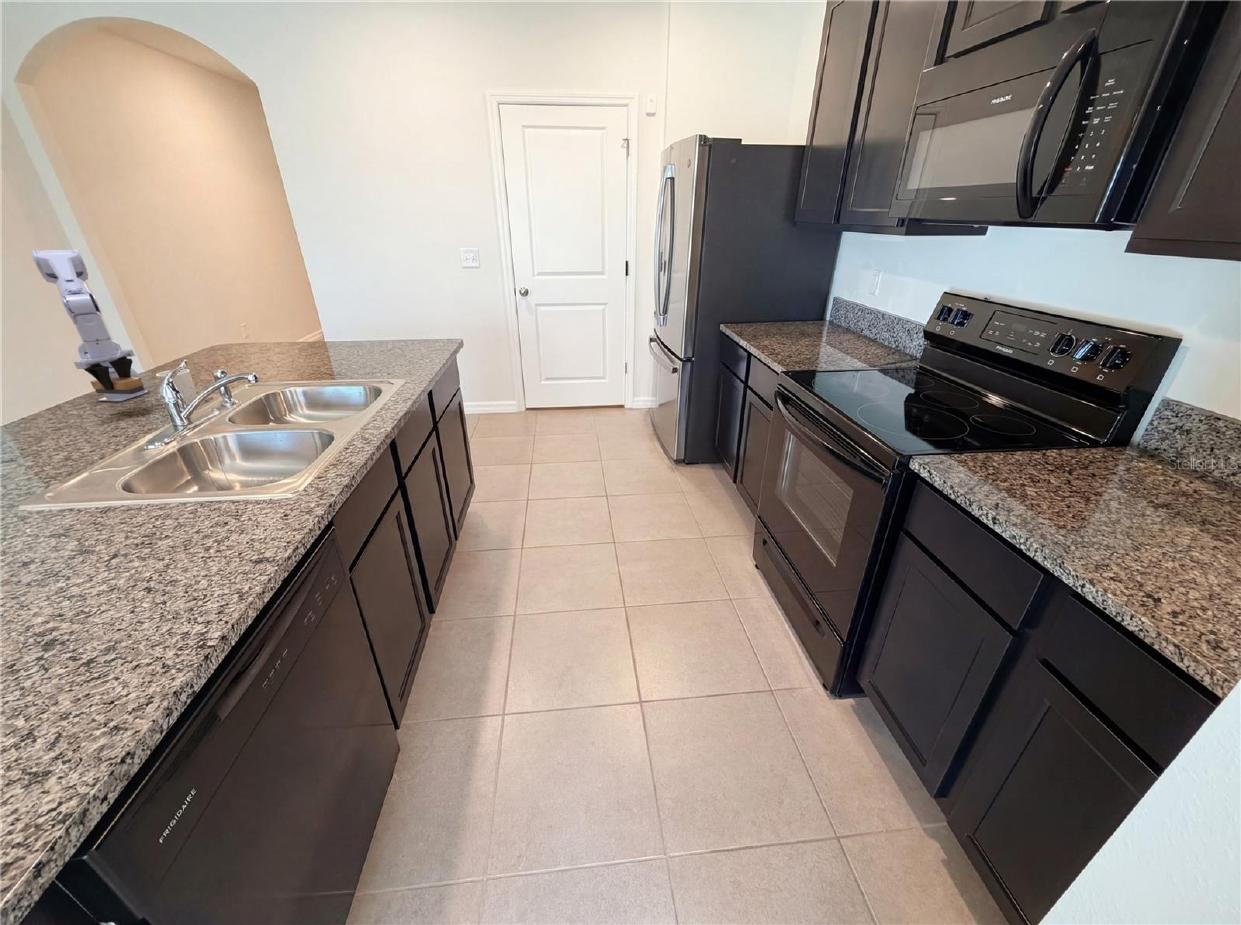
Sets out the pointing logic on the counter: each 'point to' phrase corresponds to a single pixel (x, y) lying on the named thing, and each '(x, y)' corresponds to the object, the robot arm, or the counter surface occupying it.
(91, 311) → the robot arm
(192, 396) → the white cup
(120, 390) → the scrub brush
